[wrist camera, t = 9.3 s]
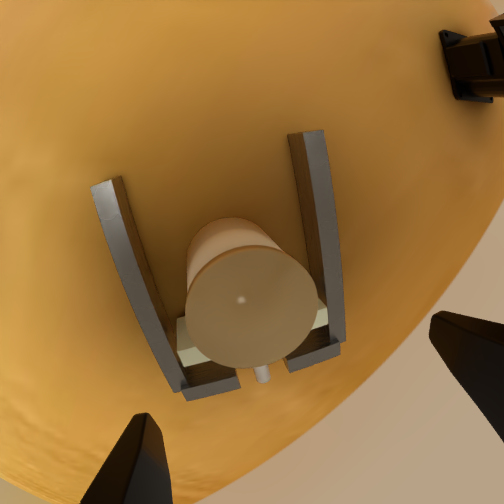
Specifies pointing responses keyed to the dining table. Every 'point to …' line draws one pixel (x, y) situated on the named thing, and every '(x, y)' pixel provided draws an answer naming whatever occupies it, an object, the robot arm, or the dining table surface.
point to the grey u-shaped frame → (320, 262)
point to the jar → (245, 295)
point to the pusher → (194, 356)
